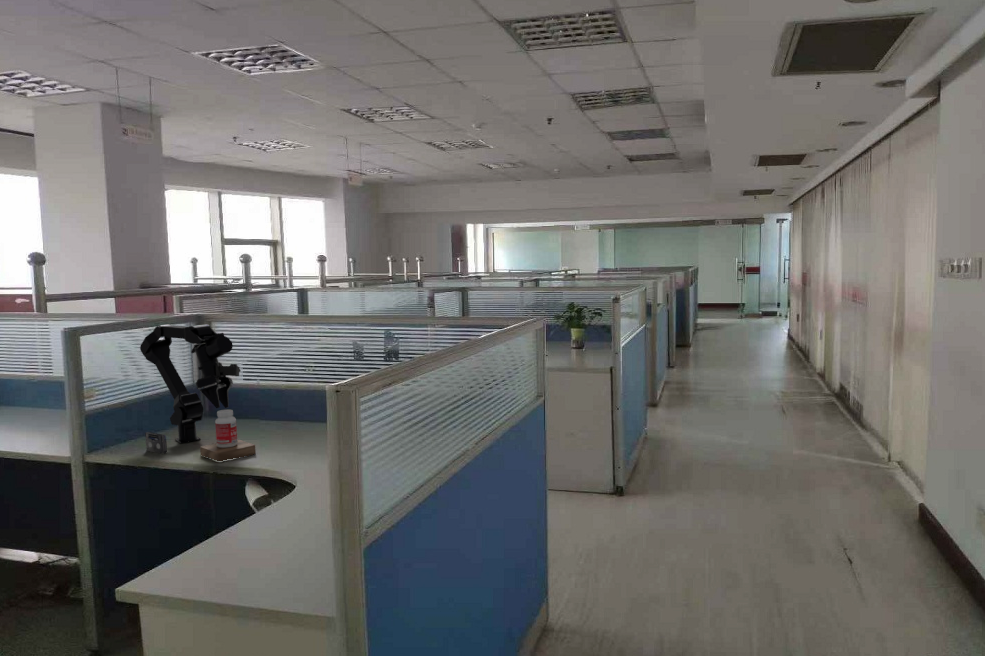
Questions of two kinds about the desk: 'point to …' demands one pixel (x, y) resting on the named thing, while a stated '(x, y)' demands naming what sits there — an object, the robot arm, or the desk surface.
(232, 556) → the desk surface
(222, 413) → the pill bottle
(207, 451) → the walnut plinth
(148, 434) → the mini dv tape
